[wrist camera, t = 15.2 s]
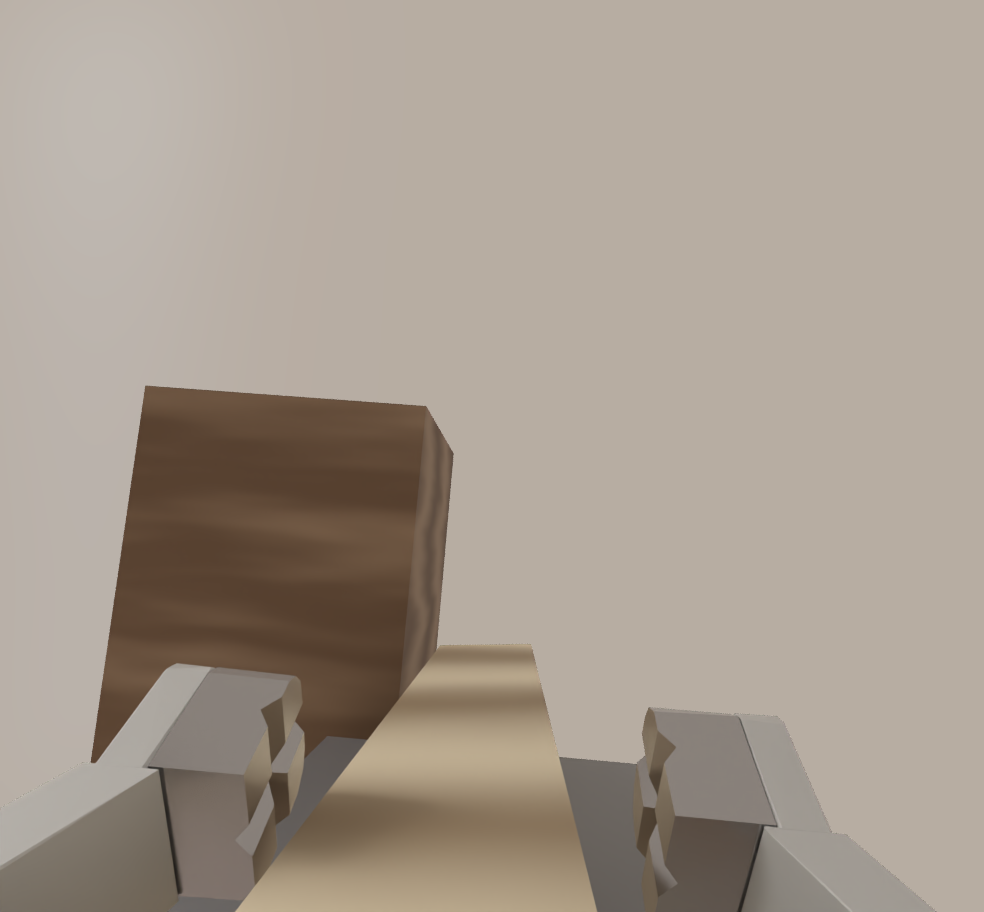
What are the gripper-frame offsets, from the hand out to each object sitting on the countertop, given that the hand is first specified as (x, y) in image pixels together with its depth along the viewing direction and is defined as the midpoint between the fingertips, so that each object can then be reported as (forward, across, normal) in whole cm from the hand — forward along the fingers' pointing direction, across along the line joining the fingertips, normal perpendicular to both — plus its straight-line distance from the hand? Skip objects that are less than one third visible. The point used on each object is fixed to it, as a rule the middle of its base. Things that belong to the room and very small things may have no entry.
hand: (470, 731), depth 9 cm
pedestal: (+9, +8, +27) cm, 30 cm away
